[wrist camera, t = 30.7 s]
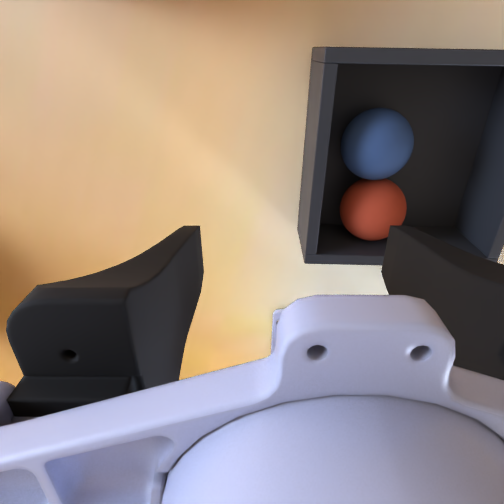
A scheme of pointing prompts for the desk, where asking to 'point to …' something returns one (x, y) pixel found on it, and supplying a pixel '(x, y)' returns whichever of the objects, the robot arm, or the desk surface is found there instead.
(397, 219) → the terracotta ball
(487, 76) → the bin
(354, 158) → the slate-blue ball
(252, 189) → the desk surface
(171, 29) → the desk surface
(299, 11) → the desk surface
